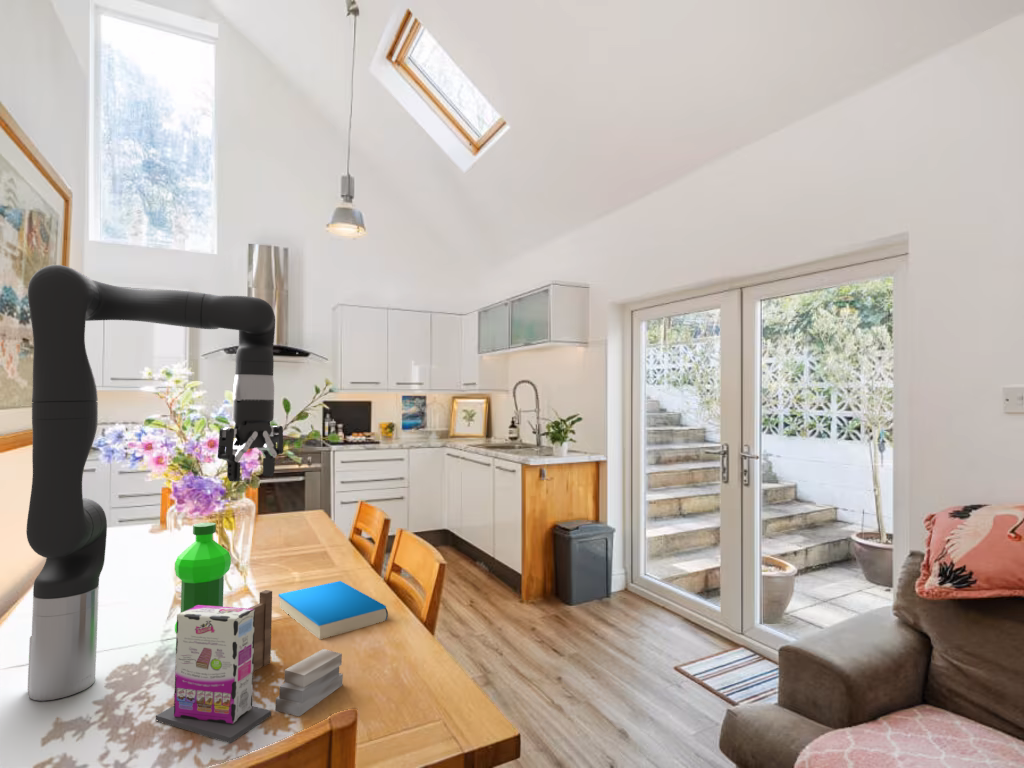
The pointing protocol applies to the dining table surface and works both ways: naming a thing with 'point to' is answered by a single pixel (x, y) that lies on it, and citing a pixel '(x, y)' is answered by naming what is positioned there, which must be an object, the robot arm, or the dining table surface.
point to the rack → (262, 630)
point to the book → (332, 609)
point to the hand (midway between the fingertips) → (251, 478)
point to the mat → (217, 724)
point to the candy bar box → (214, 663)
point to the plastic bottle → (202, 569)
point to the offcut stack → (309, 682)
